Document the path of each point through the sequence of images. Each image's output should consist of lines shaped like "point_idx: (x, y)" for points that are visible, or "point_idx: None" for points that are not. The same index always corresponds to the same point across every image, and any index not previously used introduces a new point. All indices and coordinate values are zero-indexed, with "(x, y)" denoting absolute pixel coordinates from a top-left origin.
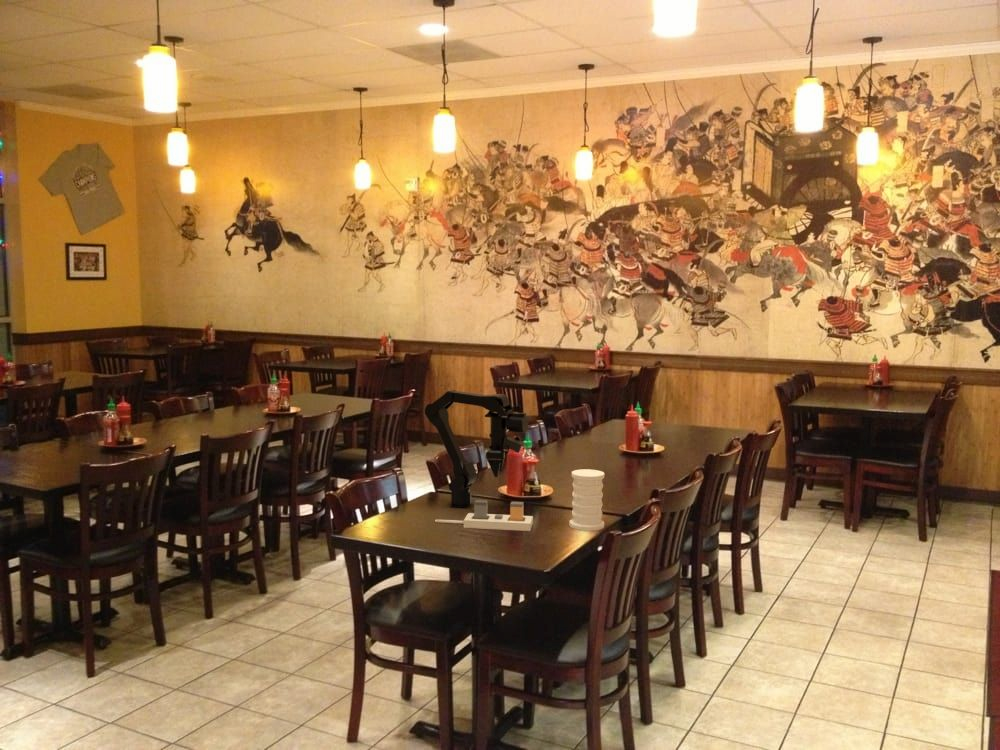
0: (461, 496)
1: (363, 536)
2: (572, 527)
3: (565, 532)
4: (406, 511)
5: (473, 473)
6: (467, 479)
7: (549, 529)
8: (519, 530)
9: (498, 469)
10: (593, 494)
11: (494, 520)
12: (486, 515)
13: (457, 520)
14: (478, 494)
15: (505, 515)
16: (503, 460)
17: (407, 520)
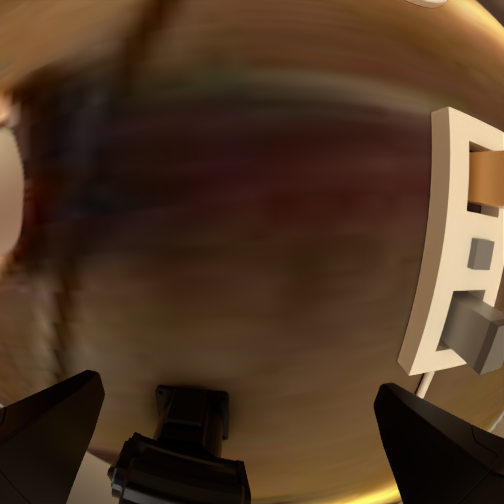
0: (219, 440)
1: None
2: (436, 6)
3: (476, 41)
4: (288, 493)
5: (163, 493)
6: (243, 494)
7: (470, 74)
8: None
9: (460, 423)
10: None
11: (495, 265)
12: (479, 302)
13: (427, 384)
14: (38, 352)
15: (453, 227)
16: (9, 425)
17: (370, 472)
